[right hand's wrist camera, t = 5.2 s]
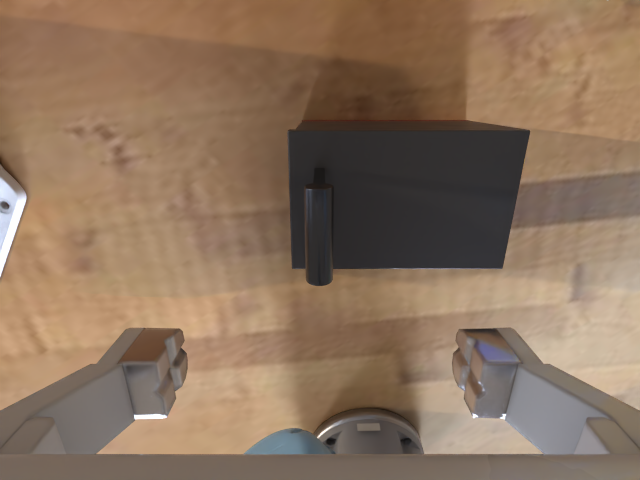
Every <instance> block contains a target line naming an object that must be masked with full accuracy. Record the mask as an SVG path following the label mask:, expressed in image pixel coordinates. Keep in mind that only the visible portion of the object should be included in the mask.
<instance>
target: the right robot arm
mask: <svg viewBox="0 0 640 480" xmlns="http://www.w3.org/2000/svg"><path fill="white" fill-rule="evenodd" d="M26 199H27V197H26V193H25V191H24V189H23V188H22V186H21V185H20V184H19V183H18V182H17V181H16V180H15V179H14V178H13V177H12V176H11V175H10V174H9V173H8V172H7V171H6V170H5V169H4V168H3V167H2V165H1V164H0V276H1V273H2V270H3V267H4V264H5V261H6V258H7V256H8V253H9V250H10V247H11V244H12V241H13V238H14V235H15V232H16V229H17V226H18V223H19V220H20V217H21V215H22V212H23V209H24V206H25V203H26ZM6 202H7V203H8V204H9V206H8V205H7V204H6ZM184 341H185V340H184V336H183V331H182V330H181V329H175V328H128V329H126V330H125V331H124V332H123V333H122V334H121V335H120V337H119V338H118V339H117V340H116V341H115V342H114V344H113V345H112V346H111V347H110V348H109V350H108V351H107V352H106V353H105V354H104V355H103V357H102V358H101V359H100V360H99V361H98V363H97V364H90V365H88V366H86V367H84V368H82V369H80V370H78V371H76V372H74V373H72V374H70V375H69V376H67V377H65V378H63V379H61V380H59V381H57V382H55V383H53V384H51V385H49V386H47V387H45V388H43V389H41V390H39V391H38V392H36V393H34V394H32V395H30V396H28V397H26V398H24V399H22V400H20V401H18V402H16V403H14V404H12V405H10V406H8V407H7V408H5V409H3V410H1V411H0V480H640V411H639V410H637V409H635V408H633V407H631V406H629V405H627V404H625V403H624V402H622V401H620V400H618V399H616V398H614V397H612V396H610V395H608V394H606V393H604V392H602V391H600V390H598V389H597V388H595V387H593V386H591V385H589V384H587V383H585V382H583V381H581V380H579V379H577V378H575V377H573V376H571V375H570V374H568V373H566V372H564V371H562V370H560V369H558V368H556V367H554V366H552V365H550V364H543V363H542V361H541V360H540V359H539V358H538V357H537V355H536V354H535V353H534V352H533V351H532V350H531V348H530V347H529V346H528V345H527V344H526V343H525V341H524V340H523V339H522V338H521V337H520V335H519V334H518V333H517V332H516V331H515V330H514V329H512V328H493V329H459V330H458V332H457V335H456V340H455V341H456V343H457V345H458V346H459V348H458V349H457V350H456V351H455V352H454V353H453V360H452V367H453V374H454V378H455V381H456V383H457V385H458V387H460V388H461V389H462V390H464V391H465V395H464V400H465V402H466V404H467V406H468V408H469V410H470V412H471V414H472V416H473V418H505V421H507V422H508V423H509V424H510V425H511V426H512V427H514V428H515V429H516V430H517V431H518V432H519V433H521V434H522V435H523V436H524V437H525V438H526V439H528V440H529V441H530V442H531V443H532V444H533V445H535V446H536V447H537V448H538V449H539V450H540V451H542V452H543V453H544V454H96V453H97V452H99V451H100V450H101V449H102V448H103V447H104V446H106V445H107V444H108V443H109V442H110V441H111V440H113V439H114V438H115V437H116V436H117V435H118V434H120V433H121V432H122V431H123V430H124V429H125V428H127V427H128V426H129V425H130V424H131V423H133V422H134V421H135V418H167V416H168V414H169V412H170V410H171V408H172V406H173V404H174V402H175V400H176V395H175V391H176V390H178V389H179V388H180V387H182V385H183V383H184V381H185V378H186V374H187V369H188V359H187V353H186V352H185V351H184V350H183V349H182V348H181V346H182V345H183V343H184Z"/></svg>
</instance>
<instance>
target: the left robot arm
mask: <svg viewBox="0 0 640 480" xmlns="http://www.w3.org/2000/svg"><path fill="white" fill-rule="evenodd" d="M244 454H424V452H423V448H422V445H421V441H420V438H419V435H418V433H417V431H416V430H415V428H414V427H413V426H412V425H411V424H410V423H409V422H408V421H407V420H406V419H404V418H403V417H401V416H399V415H397V414H395V413H392V412H390V411H386V410H382V409H375V408H360V409H353V410H349V411H345V412H342V413H339V414H337V415H335V416H333V417H331V418H329V419H328V420H326V421H325V422H324V423H323V424H322V425H321V426H320V427H319V428H318V429H317V430H316V431H315V433H314V434H312V433H310V432H308V431H304V430H302V429H298V428H291V429H285V430H281V431H278V432H275V433H273V434H271V435H269V436H267V437H265V438H264V439H262V440H261V441H259V442H258V443H256V444H255V445H254V446H252V447H251V448H250V449H249V450H248V451H246V452H245V453H244Z"/></svg>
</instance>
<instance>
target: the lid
mask: <svg viewBox="0 0 640 480" xmlns="http://www.w3.org/2000/svg"><path fill="white" fill-rule="evenodd" d="M529 134H530V130H525V129H347V130H288V161H289V191H290V222H291V252H292V269H306V281H307V282H308V283H309V284H311V285H315V286H324V285H327V284H330V283H331V282H332V280H333V269H502V268H503V263H504V258H505V253H506V248H507V243H508V238H509V233H510V229H511V224H512V219H513V214H514V209H515V204H516V199H517V194H518V189H519V184H520V179H521V174H522V169H523V164H524V159H525V154H526V149H527V144H528V139H529Z"/></svg>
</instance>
